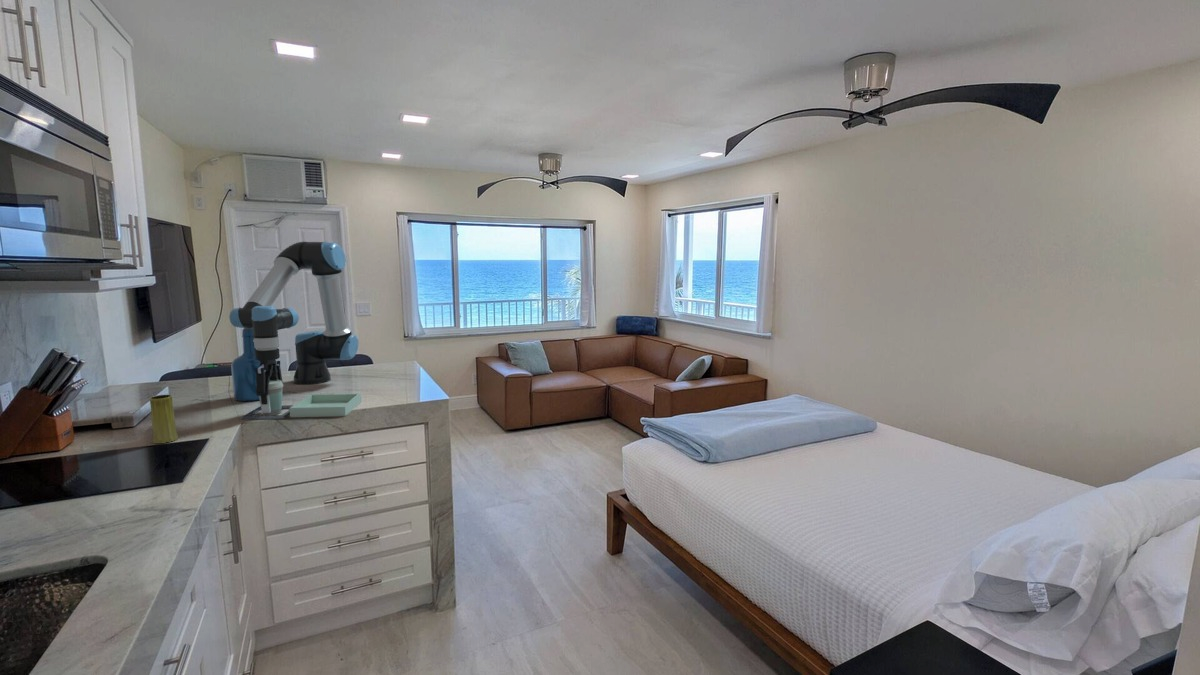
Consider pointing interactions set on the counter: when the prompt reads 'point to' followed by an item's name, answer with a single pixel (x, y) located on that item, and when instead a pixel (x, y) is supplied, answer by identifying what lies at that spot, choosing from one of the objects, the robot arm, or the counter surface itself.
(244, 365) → the wine bottle
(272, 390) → the coffee cup
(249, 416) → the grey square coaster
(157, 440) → the vase
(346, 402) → the bin
